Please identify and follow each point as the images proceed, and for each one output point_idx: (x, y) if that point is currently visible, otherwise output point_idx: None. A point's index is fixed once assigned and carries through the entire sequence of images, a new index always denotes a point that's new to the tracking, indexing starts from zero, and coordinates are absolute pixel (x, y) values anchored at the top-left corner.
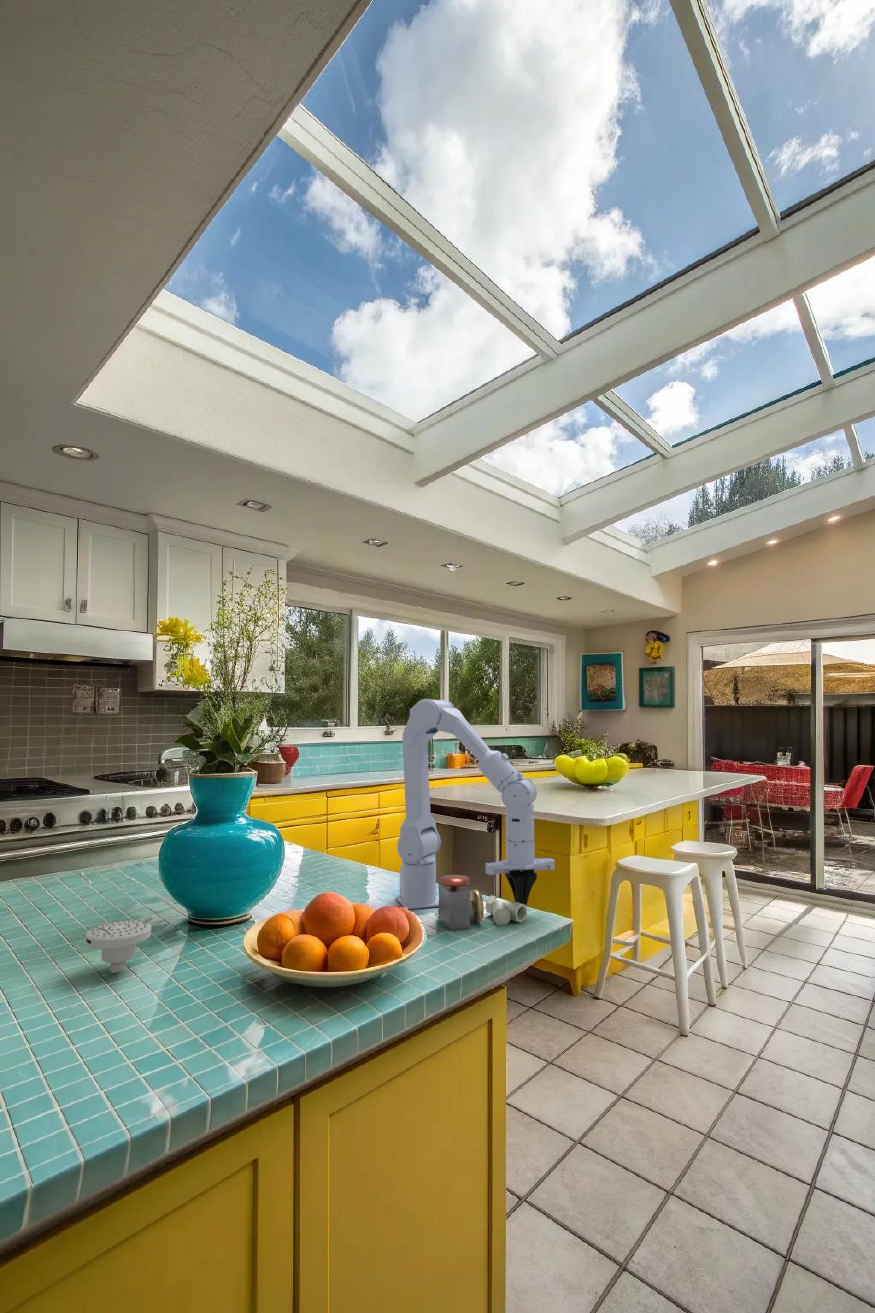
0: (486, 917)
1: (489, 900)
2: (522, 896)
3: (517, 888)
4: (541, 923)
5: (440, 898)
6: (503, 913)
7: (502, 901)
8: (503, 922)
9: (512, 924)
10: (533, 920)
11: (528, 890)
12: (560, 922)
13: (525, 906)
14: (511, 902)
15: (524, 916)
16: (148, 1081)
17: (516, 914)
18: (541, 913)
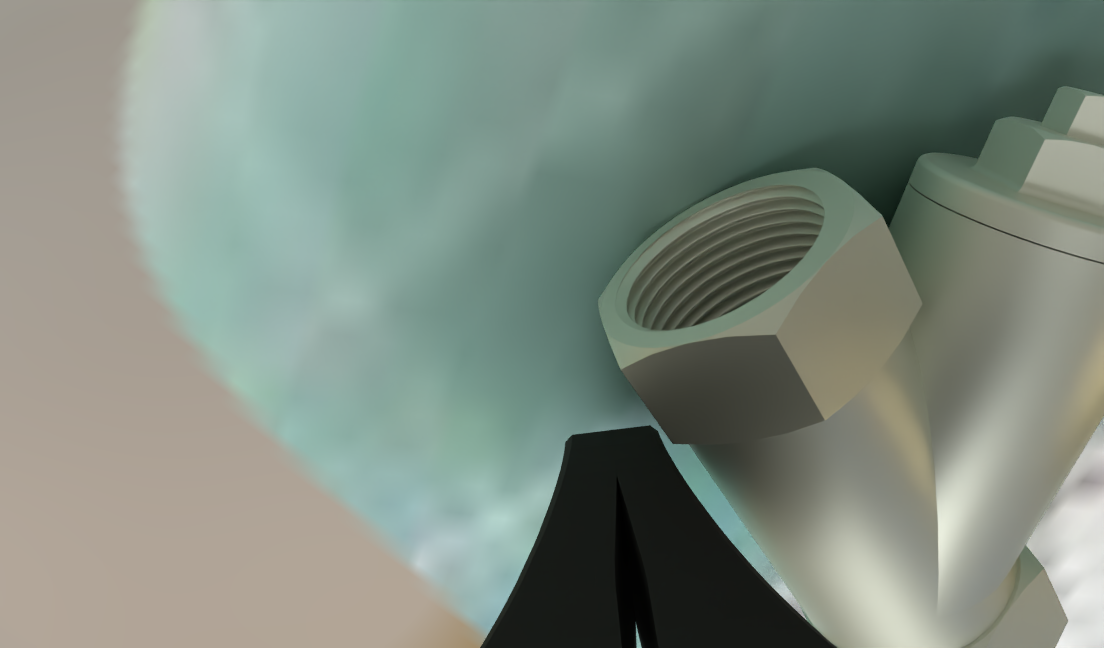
0: None
1: (1040, 636)
2: (661, 539)
3: (821, 640)
4: (428, 144)
5: None
6: (1076, 196)
7: (942, 538)
8: (1029, 120)
9: None
10: (501, 279)
11: (546, 621)
12: (146, 138)
13: (645, 342)
14: (852, 459)
15: (640, 282)
16: None
17: (837, 192)
18: (332, 490)
